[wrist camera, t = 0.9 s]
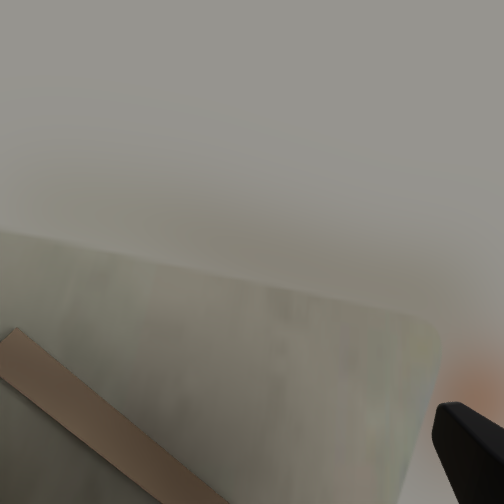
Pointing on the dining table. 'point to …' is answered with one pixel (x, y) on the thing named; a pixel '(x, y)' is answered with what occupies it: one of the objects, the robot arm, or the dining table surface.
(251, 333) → the dining table surface
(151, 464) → the guide track
